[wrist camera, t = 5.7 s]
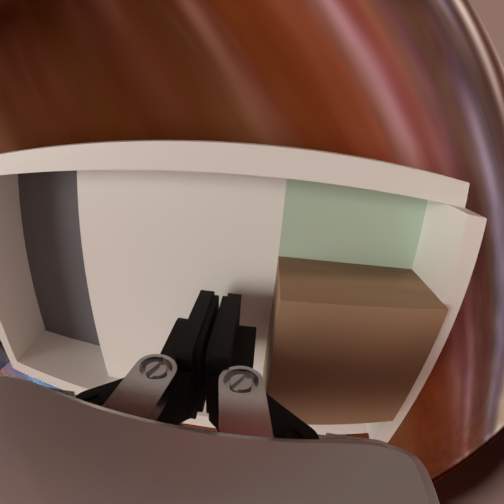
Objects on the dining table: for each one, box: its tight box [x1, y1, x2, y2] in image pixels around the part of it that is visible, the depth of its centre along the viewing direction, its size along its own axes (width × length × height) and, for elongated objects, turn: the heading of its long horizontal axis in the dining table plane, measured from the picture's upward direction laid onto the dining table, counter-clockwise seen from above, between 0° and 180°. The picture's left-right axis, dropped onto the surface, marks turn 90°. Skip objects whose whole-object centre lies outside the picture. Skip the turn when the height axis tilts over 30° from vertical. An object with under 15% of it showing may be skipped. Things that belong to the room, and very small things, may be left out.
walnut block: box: [263, 256, 448, 425], centre depth 11 cm, size 6×6×4 cm
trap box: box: [0, 140, 487, 442], centre depth 13 cm, size 14×24×6 cm, turn 85°
